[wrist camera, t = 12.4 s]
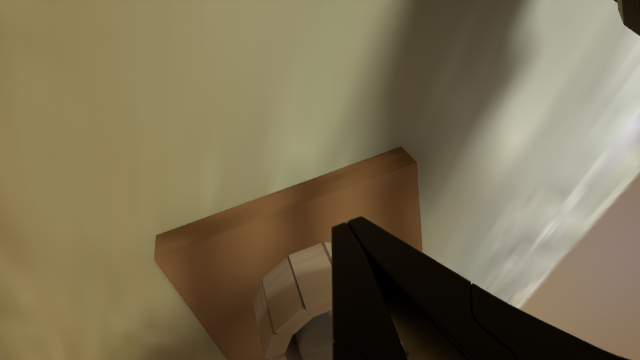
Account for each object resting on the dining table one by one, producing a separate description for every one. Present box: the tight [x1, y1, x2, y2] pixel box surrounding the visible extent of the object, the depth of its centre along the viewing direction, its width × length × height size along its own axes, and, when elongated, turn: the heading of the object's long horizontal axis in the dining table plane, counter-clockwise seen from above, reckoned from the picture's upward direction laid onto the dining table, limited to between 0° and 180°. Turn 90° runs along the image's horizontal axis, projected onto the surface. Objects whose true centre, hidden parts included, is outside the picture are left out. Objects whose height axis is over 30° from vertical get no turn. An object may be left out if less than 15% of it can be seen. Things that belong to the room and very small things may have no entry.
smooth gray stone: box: [295, 310, 333, 360], centre depth 25 cm, size 5×5×4 cm
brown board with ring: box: [154, 147, 422, 360], centre depth 26 cm, size 16×16×6 cm
